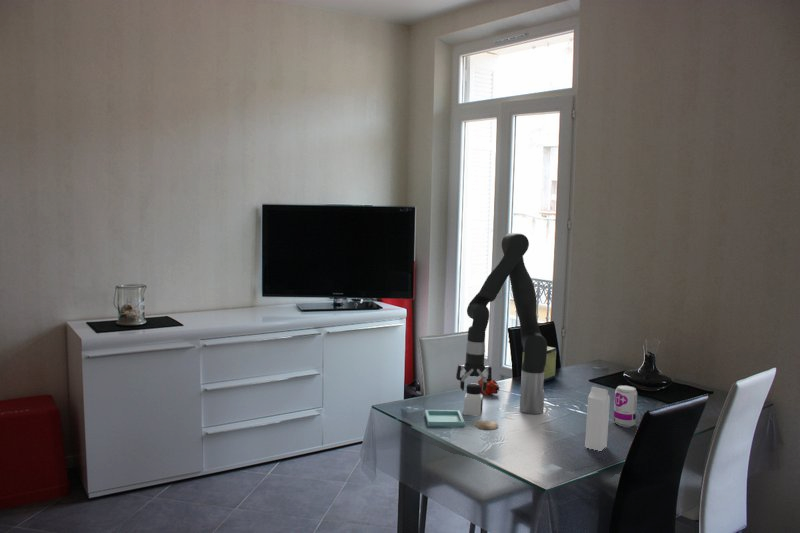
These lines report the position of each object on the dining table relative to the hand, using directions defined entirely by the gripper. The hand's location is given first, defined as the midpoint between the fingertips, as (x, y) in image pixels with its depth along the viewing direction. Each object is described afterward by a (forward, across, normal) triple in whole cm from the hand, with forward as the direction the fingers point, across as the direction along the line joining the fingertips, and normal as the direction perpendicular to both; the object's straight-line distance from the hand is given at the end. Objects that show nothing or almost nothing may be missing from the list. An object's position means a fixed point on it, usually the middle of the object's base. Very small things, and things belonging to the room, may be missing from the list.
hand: (473, 390), depth 271 cm
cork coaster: (+9, -4, +15) cm, 18 cm away
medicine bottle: (+10, 0, 0) cm, 10 cm away
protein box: (+9, -41, -53) cm, 68 cm away
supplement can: (+9, -60, +11) cm, 61 cm away
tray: (+10, +12, +10) cm, 19 cm away
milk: (+9, -40, +36) cm, 54 cm away
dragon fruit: (+10, -11, -26) cm, 30 cm away
